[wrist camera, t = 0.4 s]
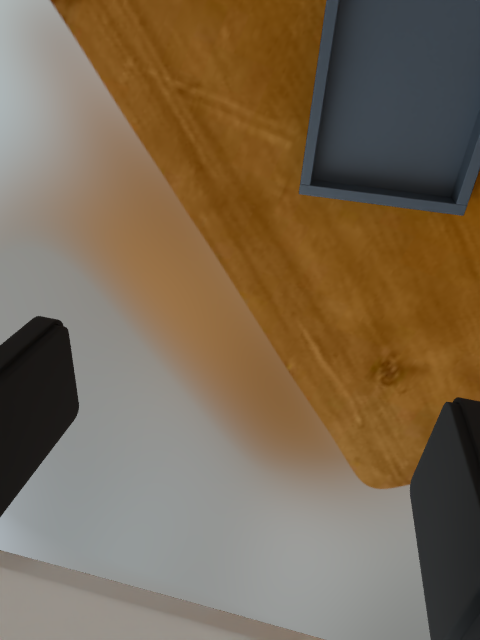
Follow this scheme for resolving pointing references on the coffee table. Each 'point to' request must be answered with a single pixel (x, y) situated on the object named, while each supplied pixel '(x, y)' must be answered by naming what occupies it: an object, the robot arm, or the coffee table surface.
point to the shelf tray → (396, 104)
